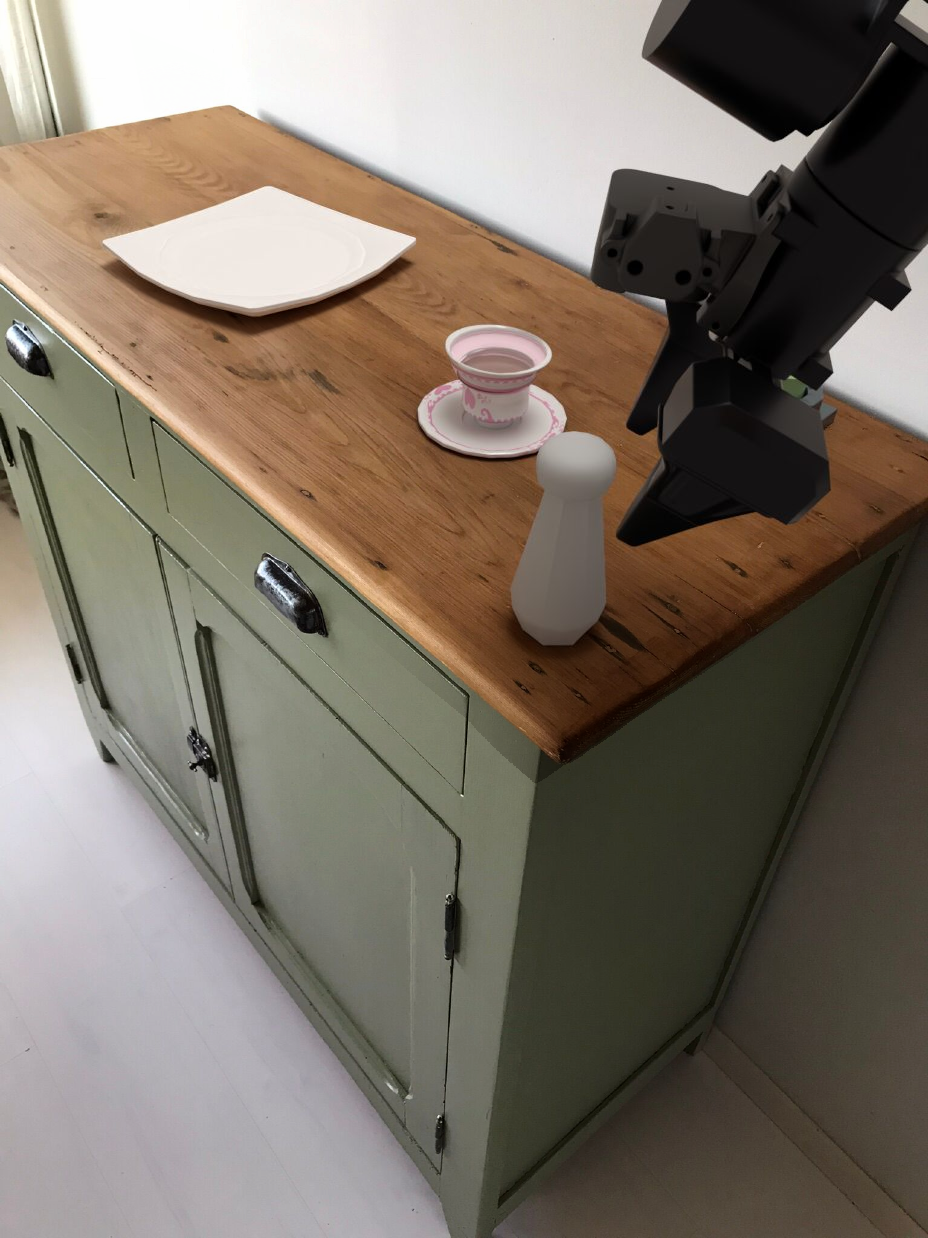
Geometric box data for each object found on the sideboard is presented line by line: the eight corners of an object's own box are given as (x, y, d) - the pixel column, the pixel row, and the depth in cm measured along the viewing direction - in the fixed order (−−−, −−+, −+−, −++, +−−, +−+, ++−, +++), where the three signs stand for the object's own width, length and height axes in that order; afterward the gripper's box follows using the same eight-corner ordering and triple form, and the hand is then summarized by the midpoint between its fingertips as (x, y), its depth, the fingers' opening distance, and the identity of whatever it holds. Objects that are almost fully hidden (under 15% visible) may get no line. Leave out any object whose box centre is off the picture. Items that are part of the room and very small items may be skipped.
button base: (833, 421, 79) (844, 388, 77) (791, 453, 75) (801, 420, 73) (759, 389, 82) (768, 357, 80) (715, 419, 78) (722, 386, 76)
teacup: (595, 417, 78) (605, 347, 73) (504, 480, 71) (509, 406, 67) (481, 368, 83) (484, 300, 79) (386, 421, 76) (384, 349, 72)
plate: (255, 346, 85) (252, 317, 83) (89, 267, 96) (83, 241, 94) (433, 264, 99) (434, 238, 97) (271, 204, 110) (269, 180, 108)
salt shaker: (553, 671, 56) (578, 490, 48) (488, 619, 60) (501, 440, 51) (619, 628, 59) (655, 450, 51) (554, 581, 62) (577, 406, 54)
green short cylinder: (810, 392, 77) (817, 368, 75) (790, 406, 75) (797, 382, 74) (775, 377, 78) (781, 354, 77) (755, 391, 77) (761, 367, 75)
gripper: (689, 21, 41) (512, 311, 52) (688, 175, 28) (450, 523, 38) (890, 161, 43) (682, 411, 54) (977, 364, 30) (678, 642, 41)
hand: (628, 481), depth 47 cm, fingers open, 9 cm apart
